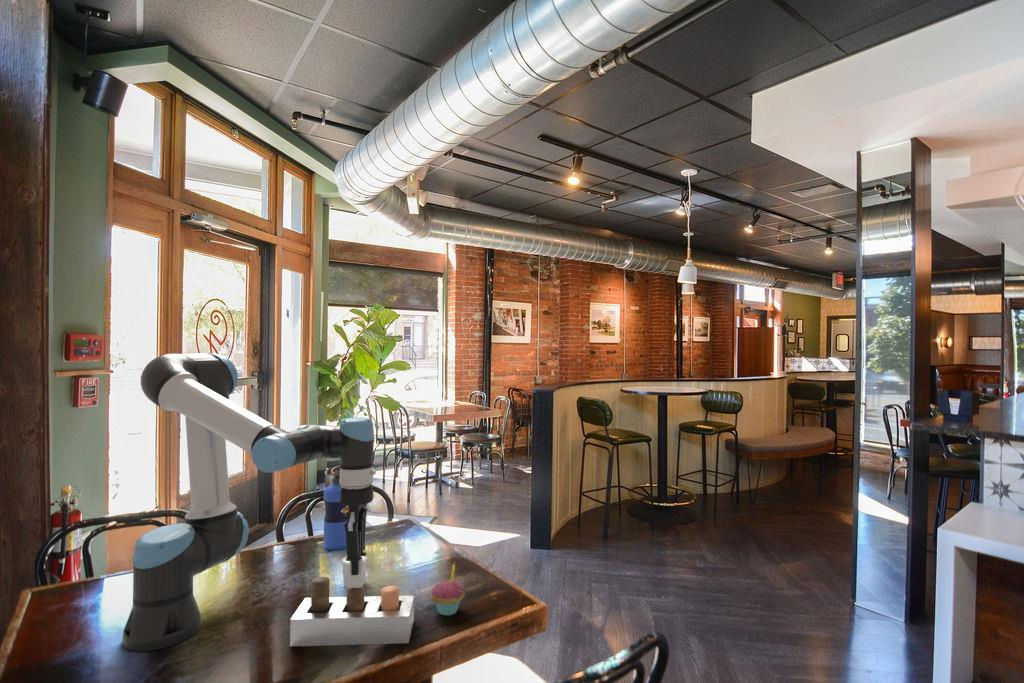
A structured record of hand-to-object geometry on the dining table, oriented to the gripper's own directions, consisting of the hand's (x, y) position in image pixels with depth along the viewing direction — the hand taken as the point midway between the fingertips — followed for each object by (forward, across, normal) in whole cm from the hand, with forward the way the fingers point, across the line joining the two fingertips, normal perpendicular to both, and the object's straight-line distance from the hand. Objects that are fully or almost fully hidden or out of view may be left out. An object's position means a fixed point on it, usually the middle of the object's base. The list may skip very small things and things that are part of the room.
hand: (356, 586), depth 123 cm
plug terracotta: (+8, 0, -8) cm, 11 cm away
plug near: (+5, 0, +8) cm, 10 cm away
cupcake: (+11, +9, -21) cm, 25 cm away
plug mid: (+7, 0, 0) cm, 7 cm away
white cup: (+11, +26, +6) cm, 29 cm away
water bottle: (+11, +55, +18) cm, 59 cm away
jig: (+11, 0, 0) cm, 11 cm away
